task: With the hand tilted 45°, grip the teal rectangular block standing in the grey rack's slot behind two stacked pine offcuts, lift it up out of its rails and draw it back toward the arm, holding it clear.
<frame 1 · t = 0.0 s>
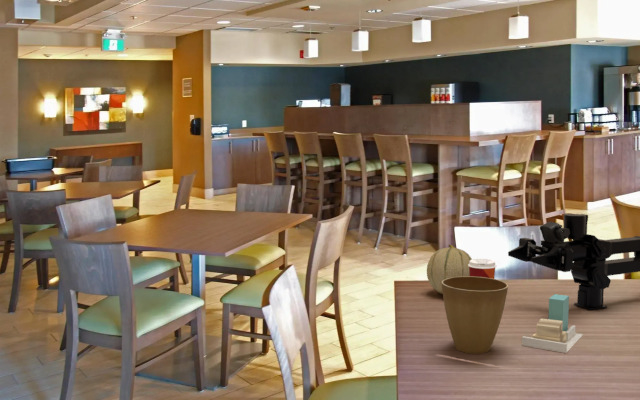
hand: (519, 256, 186), 17 cm above the table, tool horizontal, fingers open, 9 cm apart
offcut upper: (549, 333, 164), point 3 cm above the table, touching offcut lower
rack: (557, 337, 170), on the table
teal rectangular block: (557, 335, 170), point 1 cm above the table, touching rack
cantaloupe: (450, 295, 212), on the table
offcut lower: (549, 343, 164), point 1 cm above the table, touching offcut upper, rack
plant pot: (473, 351, 162), on the table
paper cup: (481, 310, 195), on the table
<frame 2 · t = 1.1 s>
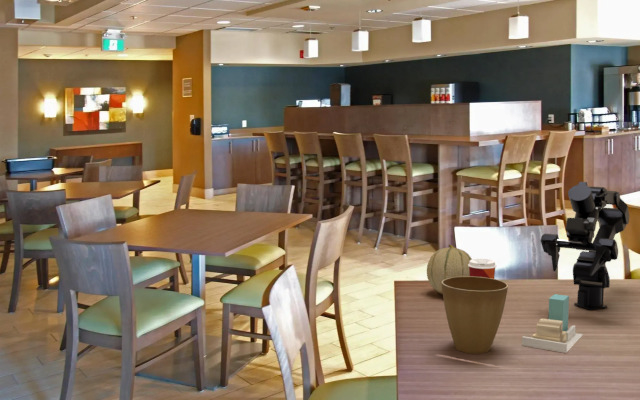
hand: (572, 272, 180), 14 cm above the table, tool tilted 45°, fingers open, 9 cm apart
nothing on the table moved.
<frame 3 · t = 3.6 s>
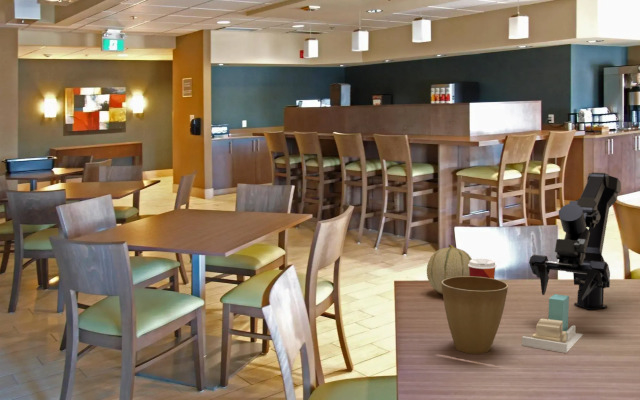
hand: (561, 296, 171), 10 cm above the table, tool tilted 45°, fingers open, 9 cm apart
nothing on the table moved.
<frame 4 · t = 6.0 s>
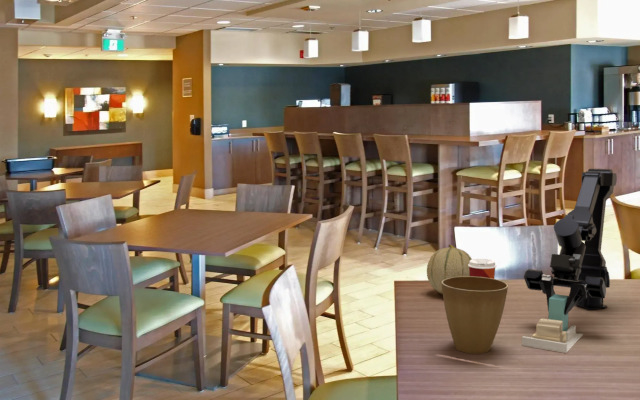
hand: (557, 312, 168), 7 cm above the table, tool tilted 45°, fingers closed on teal rectangular block, 3 cm apart
teal rectangular block: (557, 335, 170), point 1 cm above the table, touching gripper, rack
everything else where it was.
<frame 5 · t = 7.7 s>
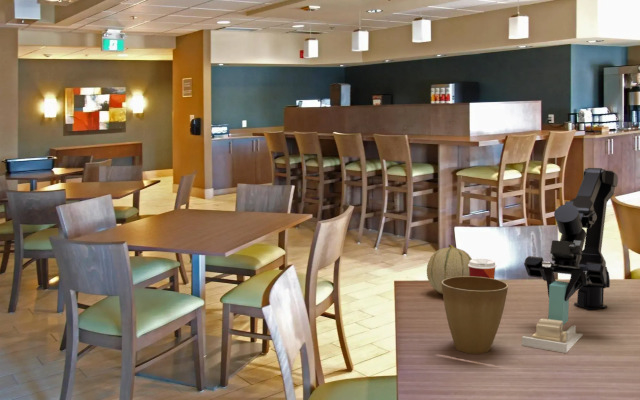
hand: (557, 299, 168), 10 cm above the table, tool tilted 45°, fingers closed on teal rectangular block, 3 cm apart
teal rectangular block: (558, 321, 170), point 4 cm above the table, touching gripper
everything else where it was.
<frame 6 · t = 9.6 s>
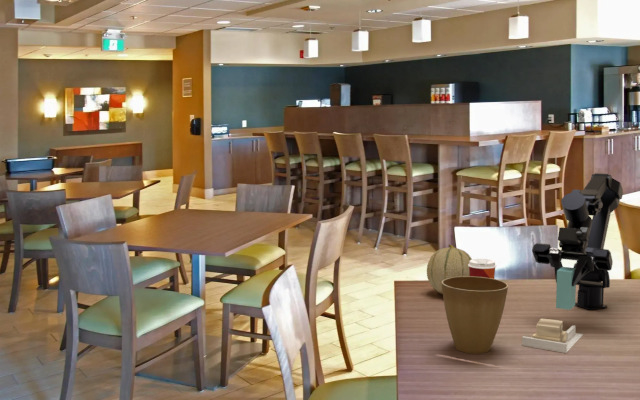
hand: (564, 284, 173), 12 cm above the table, tool tilted 45°, fingers closed on teal rectangular block, 3 cm apart
teal rectangular block: (565, 306, 175), point 6 cm above the table, touching gripper
everything else where it was.
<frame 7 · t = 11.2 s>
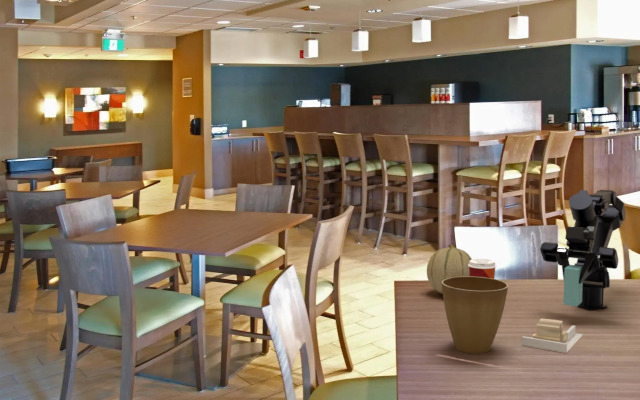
hand: (572, 281, 178), 12 cm above the table, tool tilted 45°, fingers closed on teal rectangular block, 3 cm apart
teal rectangular block: (572, 303, 180), point 6 cm above the table, touching gripper
everything else where it was.
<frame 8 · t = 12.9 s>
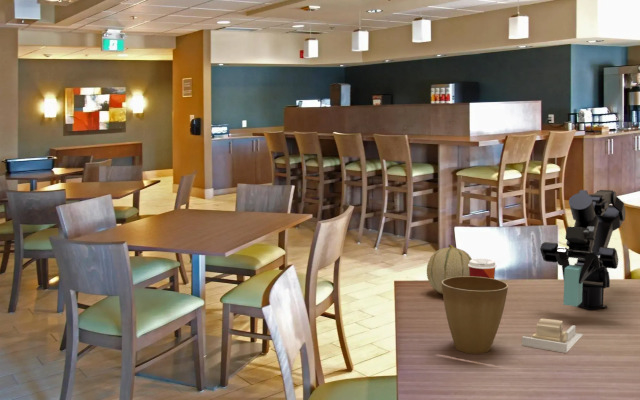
hand: (572, 281, 178), 12 cm above the table, tool tilted 45°, fingers closed on teal rectangular block, 3 cm apart
teal rectangular block: (572, 303, 180), point 6 cm above the table, touching gripper
everything else where it was.
at the end: the gripper is holding teal rectangular block; teal rectangular block point 5.6 cm above the table; teal rectangular block moved 14.0 cm from its start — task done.
